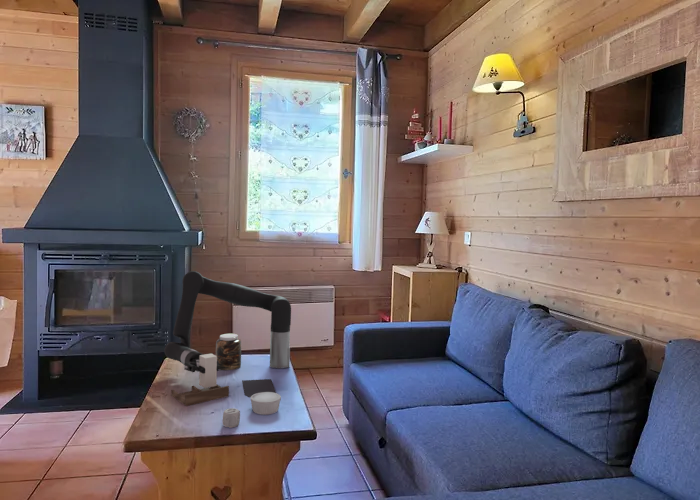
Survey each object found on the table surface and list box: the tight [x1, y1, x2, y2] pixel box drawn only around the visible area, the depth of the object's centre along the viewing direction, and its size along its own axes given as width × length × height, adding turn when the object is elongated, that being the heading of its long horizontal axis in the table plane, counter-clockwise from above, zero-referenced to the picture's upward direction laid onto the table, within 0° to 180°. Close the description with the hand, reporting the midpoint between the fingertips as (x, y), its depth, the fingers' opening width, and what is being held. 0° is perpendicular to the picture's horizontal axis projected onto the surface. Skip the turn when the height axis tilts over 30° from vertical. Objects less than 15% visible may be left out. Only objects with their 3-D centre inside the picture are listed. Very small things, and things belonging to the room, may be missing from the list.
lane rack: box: [170, 384, 230, 407], centre depth 201 cm, size 14×17×5 cm
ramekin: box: [250, 392, 282, 416], centre depth 191 cm, size 11×11×5 cm
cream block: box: [198, 352, 218, 388], centre depth 205 cm, size 5×5×12 cm
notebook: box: [241, 378, 277, 398], centre depth 213 cm, size 13×2×21 cm
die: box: [221, 407, 241, 429], centre depth 177 cm, size 5×5×5 cm
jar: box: [215, 333, 242, 371], centre depth 243 cm, size 12×12×15 cm
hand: (211, 369), depth 203 cm, fingers closed on cream block, 5 cm apart
